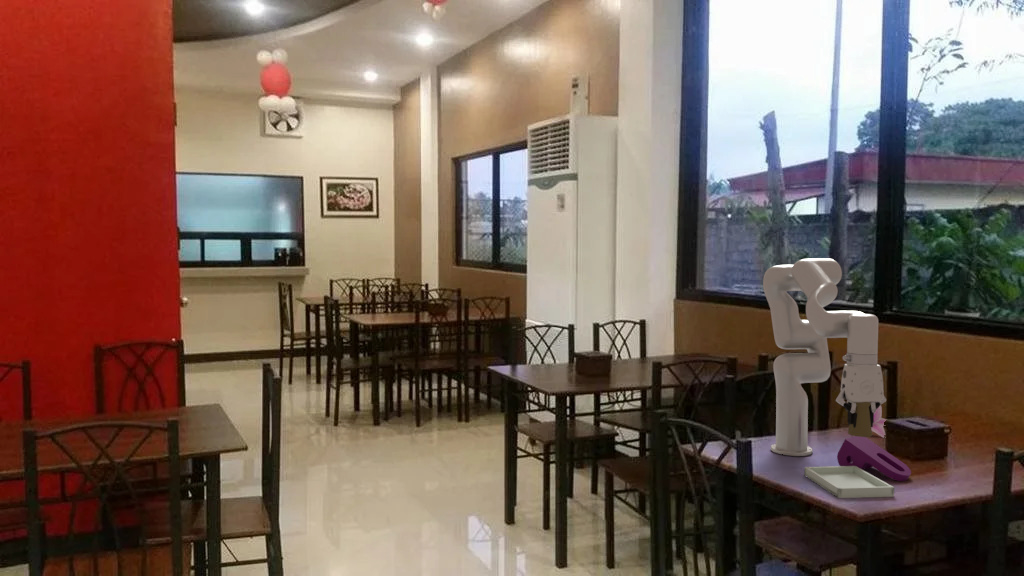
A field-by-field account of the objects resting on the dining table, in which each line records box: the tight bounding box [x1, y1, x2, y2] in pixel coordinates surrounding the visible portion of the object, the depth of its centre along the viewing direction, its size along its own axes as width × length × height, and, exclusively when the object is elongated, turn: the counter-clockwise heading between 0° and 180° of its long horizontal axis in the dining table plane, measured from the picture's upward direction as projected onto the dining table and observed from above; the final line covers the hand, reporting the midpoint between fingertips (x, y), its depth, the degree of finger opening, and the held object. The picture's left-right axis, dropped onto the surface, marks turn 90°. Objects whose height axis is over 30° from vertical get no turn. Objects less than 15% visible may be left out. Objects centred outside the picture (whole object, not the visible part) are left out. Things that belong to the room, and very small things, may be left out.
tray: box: [803, 465, 895, 499], centre depth 208 cm, size 20×15×2 cm
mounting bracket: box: [836, 436, 912, 482], centre depth 220 cm, size 10×8×18 cm
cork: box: [847, 402, 873, 438], centre depth 206 cm, size 6×6×11 cm
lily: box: [871, 404, 888, 439], centre depth 267 cm, size 12×12×10 cm
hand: (860, 425), depth 207 cm, fingers closed on cork, 3 cm apart
